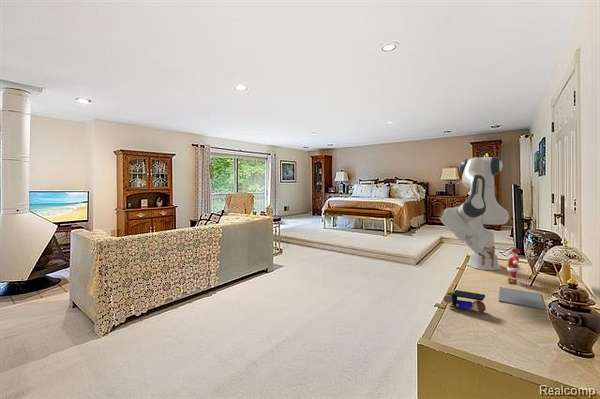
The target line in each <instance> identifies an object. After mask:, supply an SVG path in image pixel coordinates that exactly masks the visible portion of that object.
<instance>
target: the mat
mask: <svg viewBox="0 0 600 399" xmlns="http://www.w3.org/2000/svg"><path fill="white" fill-rule="evenodd" d="M498 294H499V295H498V302H499V303H506V304H510V305H515V306H522V307H527V308H532V309H537V310H544V311H546V308H545V305H544V304H545V303H544V301H543V298H542V295H541V293H540V292H535V291H534V292H533V291H526V290H522V289H521V290H520V289H514V288H507V287H503V286H499V293H498Z"/></svg>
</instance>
